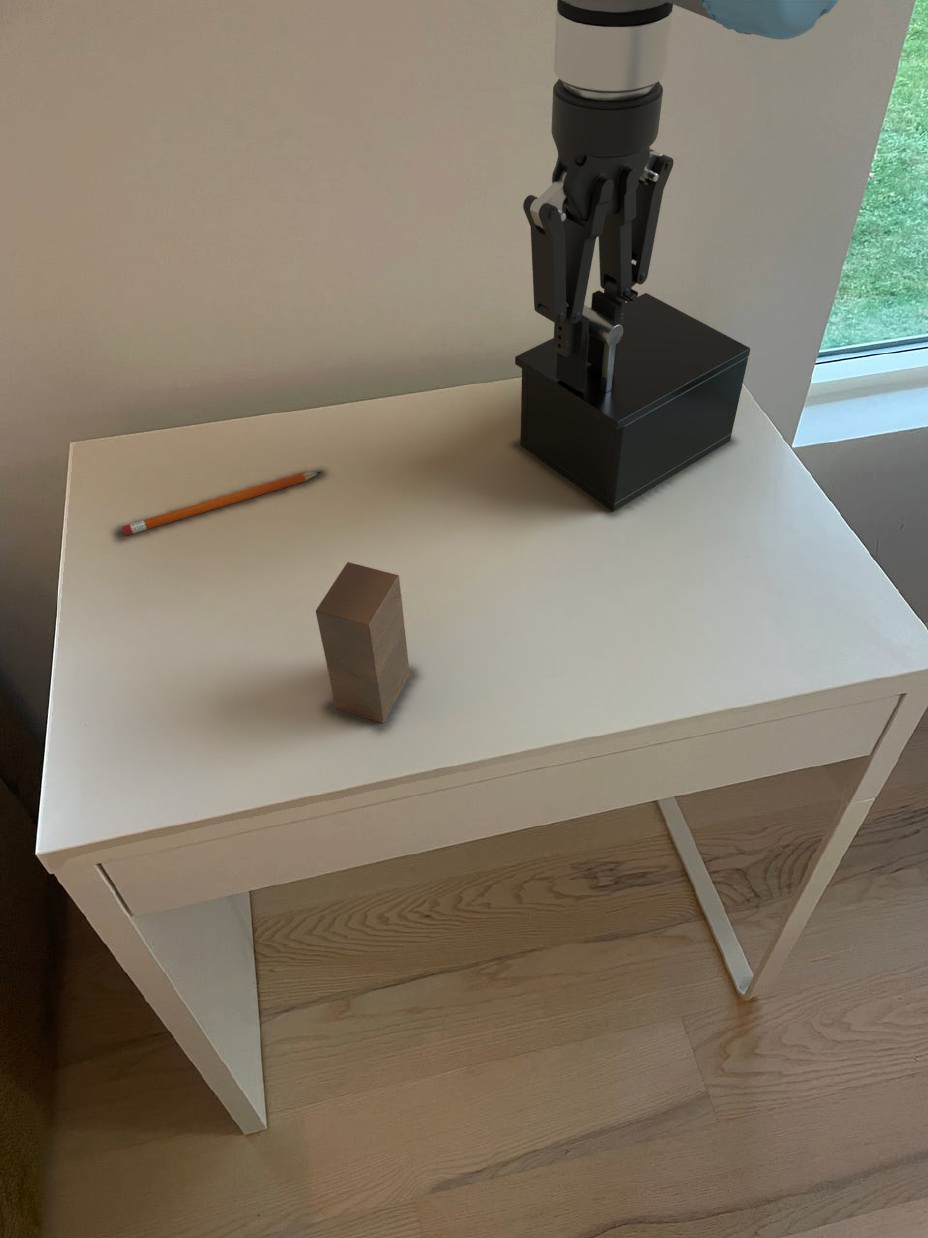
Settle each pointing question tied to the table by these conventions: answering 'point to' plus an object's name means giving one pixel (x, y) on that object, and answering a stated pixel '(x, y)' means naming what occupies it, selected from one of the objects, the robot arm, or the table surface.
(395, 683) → the tall brown wooden bar
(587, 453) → the black box
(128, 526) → the pencil
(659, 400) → the box lid
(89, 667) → the table surface
